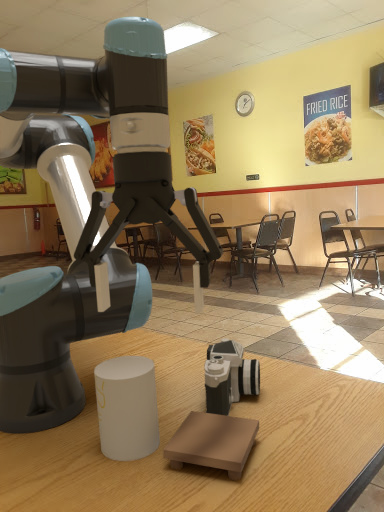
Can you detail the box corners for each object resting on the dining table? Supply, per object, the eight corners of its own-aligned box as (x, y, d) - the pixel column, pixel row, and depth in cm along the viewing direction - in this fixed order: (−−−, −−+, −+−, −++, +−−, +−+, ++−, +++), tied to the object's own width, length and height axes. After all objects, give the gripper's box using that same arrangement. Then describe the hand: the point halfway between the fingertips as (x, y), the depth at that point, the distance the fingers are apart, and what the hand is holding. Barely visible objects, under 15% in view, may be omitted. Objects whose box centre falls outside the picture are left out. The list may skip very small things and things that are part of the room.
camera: (256, 425, 66) (254, 361, 64) (200, 421, 67) (196, 360, 66) (261, 379, 81) (259, 327, 79) (215, 378, 83) (213, 327, 81)
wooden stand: (164, 474, 55) (163, 449, 55) (192, 432, 64) (191, 410, 64) (242, 489, 51) (241, 463, 51) (259, 442, 61) (259, 420, 60)
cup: (112, 431, 66) (105, 355, 64) (165, 432, 65) (159, 355, 63) (93, 465, 58) (84, 379, 56) (152, 467, 57) (146, 379, 55)
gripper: (38, 155, 55) (54, 316, 59) (235, 144, 50) (239, 320, 54) (66, 157, 62) (78, 301, 66) (240, 148, 58) (243, 303, 61)
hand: (150, 310), depth 60 cm, fingers open, 13 cm apart
